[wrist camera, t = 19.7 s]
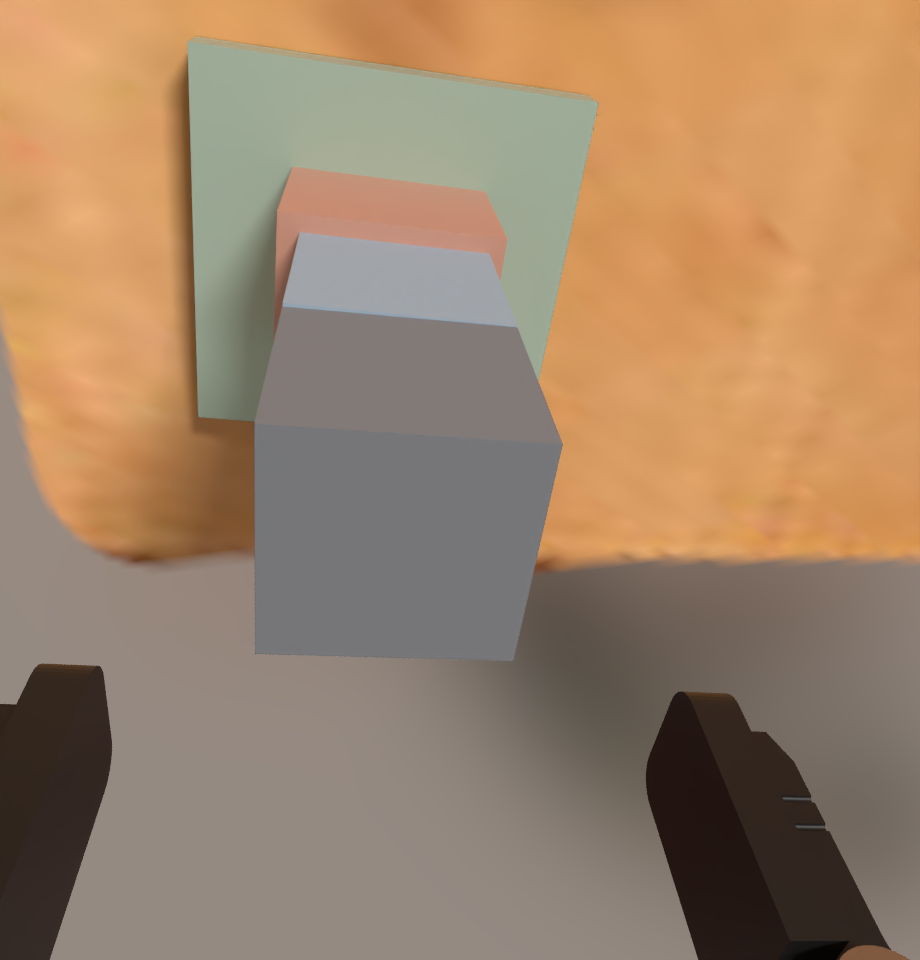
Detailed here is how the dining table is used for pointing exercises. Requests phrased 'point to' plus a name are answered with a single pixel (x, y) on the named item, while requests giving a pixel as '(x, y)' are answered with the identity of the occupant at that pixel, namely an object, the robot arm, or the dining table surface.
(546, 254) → the build plate
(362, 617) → the slate brick
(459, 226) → the base brick
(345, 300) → the blue brick
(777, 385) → the dining table surface
